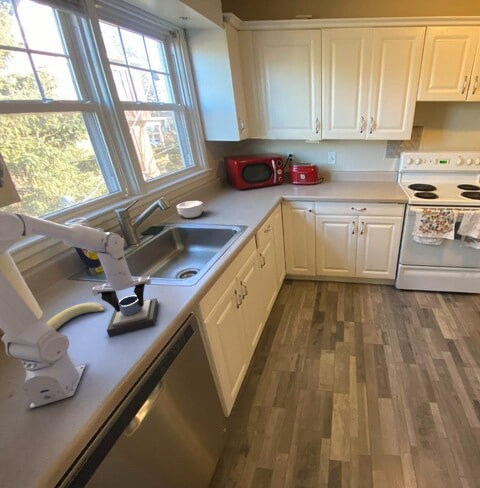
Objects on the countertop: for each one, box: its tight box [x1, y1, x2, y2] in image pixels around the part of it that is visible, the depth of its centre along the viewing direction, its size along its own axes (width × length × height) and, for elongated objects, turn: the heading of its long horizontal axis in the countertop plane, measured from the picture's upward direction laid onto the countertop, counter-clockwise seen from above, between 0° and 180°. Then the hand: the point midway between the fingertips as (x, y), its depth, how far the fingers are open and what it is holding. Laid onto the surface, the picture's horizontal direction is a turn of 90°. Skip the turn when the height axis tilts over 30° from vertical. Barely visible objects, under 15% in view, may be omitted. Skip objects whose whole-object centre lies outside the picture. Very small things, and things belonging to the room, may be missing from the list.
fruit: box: [45, 301, 106, 331], centre depth 90 cm, size 7×15×3 cm, turn 145°
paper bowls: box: [176, 200, 205, 219], centre depth 176 cm, size 15×15×8 cm
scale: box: [106, 297, 159, 338], centre depth 90 cm, size 12×12×2 cm
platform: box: [113, 299, 151, 326], centre depth 89 cm, size 9×9×1 cm
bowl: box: [118, 294, 142, 316], centre depth 88 cm, size 6×6×4 cm
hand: (131, 307), depth 88 cm, fingers closed on bowl, 6 cm apart
